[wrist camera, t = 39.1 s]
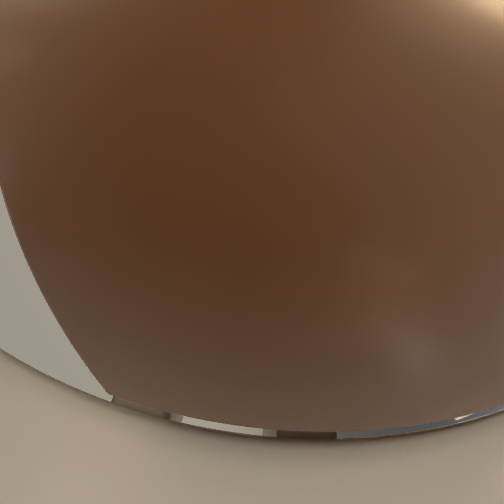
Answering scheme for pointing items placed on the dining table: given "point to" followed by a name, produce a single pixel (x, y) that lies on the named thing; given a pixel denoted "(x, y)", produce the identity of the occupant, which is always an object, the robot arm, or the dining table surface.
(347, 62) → the cabinet
